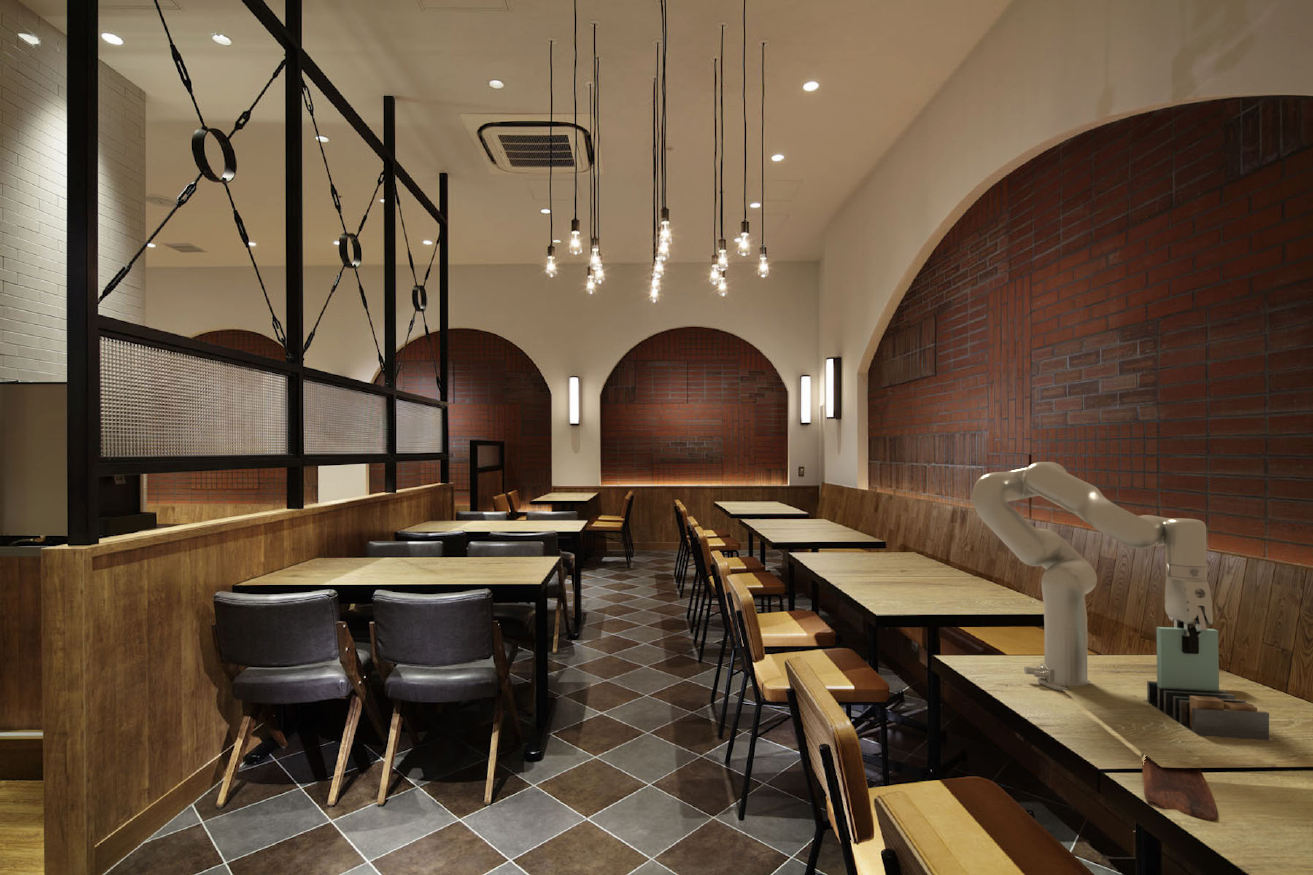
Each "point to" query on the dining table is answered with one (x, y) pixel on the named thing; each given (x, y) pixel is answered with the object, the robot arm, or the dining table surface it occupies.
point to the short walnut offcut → (1238, 706)
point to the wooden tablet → (1178, 790)
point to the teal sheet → (1187, 660)
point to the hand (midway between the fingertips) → (1187, 651)
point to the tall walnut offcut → (1204, 703)
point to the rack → (1209, 713)
